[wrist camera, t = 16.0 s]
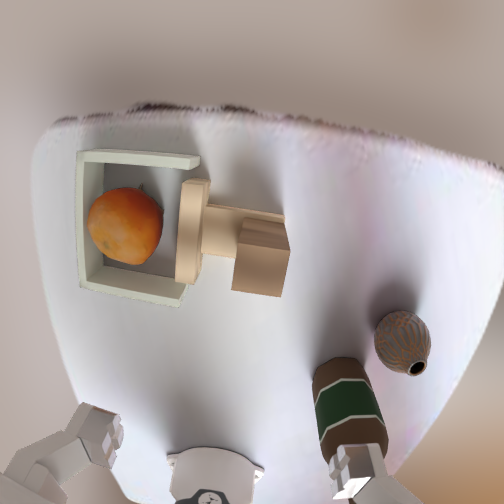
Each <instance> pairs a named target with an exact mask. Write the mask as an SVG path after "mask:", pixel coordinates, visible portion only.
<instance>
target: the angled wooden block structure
mask: <svg viewBox="0 0 504 504" xmlns="http://www.w3.org/2000/svg"><path fill="white" fill-rule="evenodd" d="M210 183H211V180H207V179H199V178H190V179H188V180H187V181H185V182H183V183H182V190H181V200H180V211H179V223H178V236H177V251H176V268H175V282H180V283H186V284H192V285H194V283H195V281H196V279H197V277H198V275H199V273H200V271H201V265H202V255H203V254H210V255H216V256H223V257H229V258H236V259H235V267H234V274H233V281H232V288H231V290H234V291H241V292H248V293H254V294H261V295H268V296H275V297H281V294H282V289H283V285H284V280H285V275H286V270H287V266H288V261H289V256H290V247H289V242H288V238H287V233H286V229H285V224H284V222H285V216H284V215H280V214H274V213H268V212H262V211H255V210H249V209H242V208H235V207H229V206H222V205H215V204H208V199H209V191H210Z"/></svg>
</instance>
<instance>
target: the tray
mask: <svg viewBox="0 0 504 504" xmlns="http://www.w3.org/2000/svg"><path fill="white" fill-rule="evenodd" d="M104 163H117V164H131V165H143V166H155V167H165V168H175V169H184V170H190V169H193V168H195V167H198V166H199V164H200V156H194V155H184V154H174V153H163V152H150V151H136V150H118V149H91V150H83V151H77V157H76V181H75V222H76V246H77V261H78V273H79V284H80V287H81V288H85V289H89V290H94V291H98V292H102V293H107V294H111V295H116V296H121V297H125V298H130V299H135V300H140V301H145V302H150V303H155V304H160V305H165V306H171V307H176V308H179V306H180V304H181V302H182V300H183V298H184V296H185V294H186V292H187V290H188V284H186V283H180V282H175V278H169V277H163V276H158V275H152V274H146V273H141V272H135V271H130V270H125V269H119V268H114V267H109V266H104V263H103V253H102V252H101V251H100V250H99V249H98V248H97V246H96V244H95V243H94V242H93V240H92V238H91V235H90V232H89V230H88V228H87V220H88V214H89V211H90V209H91V207H92V205H93V203H94V202H95V200H96V199H97V198H98V197H100V196H101V195H103V182H104Z"/></svg>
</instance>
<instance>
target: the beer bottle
mask: <svg viewBox="0 0 504 504" xmlns="http://www.w3.org/2000/svg"><path fill="white" fill-rule="evenodd" d="M312 391H313V399H314V405H315V412H316V419H317V426H318V433H319V440H320V446H321V451H322V455H323V457H324V459H325V461H326V462H327V464H328V465H329V464H330V460H331V458H332V456H333V455H335V454H337V448H338V447H339V446H340V445H345V444H370V443H378V444H379V446H380V449H381V452H382V456H383V459H384V458H385V455H386V453H387V449H388V441H389V439H388V435H387V430H386V426H385V423H384V420H383V417H382V415H381V412H380V409H379V406H378V403H377V400H376V397H375V394H374V392H373V389H372V386H371V383H370V381H369V378H368V376H367V374H366V372H365V370H364V369H363V367H362V366H361V365H360V364H359V362H358V361H357V360H356V359H355V358H337V357H335V358H333V359H332V360H330V361H328V362H327V363H325V364H323V365H321V366H320V367H318V368H317V370H316V374H315V377H314V380H313V383H312ZM348 500H349V504H356V503H355V501H354V500H353V498H348Z"/></svg>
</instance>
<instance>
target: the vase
mask: <svg viewBox="0 0 504 504" xmlns="http://www.w3.org/2000/svg"><path fill="white" fill-rule="evenodd" d="M374 345H375V350H376V353H377V355H378V357H379V359H380V360H381V362H382V363H383V364H384V365H385V366H386V367H387V368H389V369H390V370H392V371H395V372H399V373H406V374H408V375H410V376H417V375H419V374H421V373H422V372H423V371H424V370H425V369H426V367H427V358H428V356H429V352H430V348H431V338H430V334H429V331H428V328H427V326H426V325H425V323H424V322H423V321H422V320H421V319H420V318H419V317H418V316H416V315H415V314H413V313H411V312H408V311H396V312H392V313H390V314H388V315H387V316H385V317H384V318H383V319H382V320H381V321H380V323H379V324H378V326H377V328H376V331H375V335H374Z"/></svg>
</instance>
